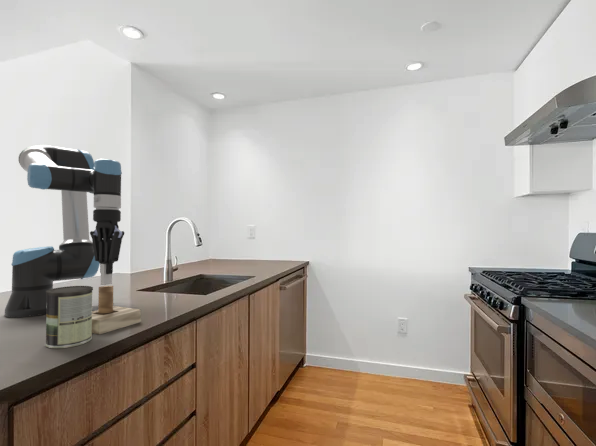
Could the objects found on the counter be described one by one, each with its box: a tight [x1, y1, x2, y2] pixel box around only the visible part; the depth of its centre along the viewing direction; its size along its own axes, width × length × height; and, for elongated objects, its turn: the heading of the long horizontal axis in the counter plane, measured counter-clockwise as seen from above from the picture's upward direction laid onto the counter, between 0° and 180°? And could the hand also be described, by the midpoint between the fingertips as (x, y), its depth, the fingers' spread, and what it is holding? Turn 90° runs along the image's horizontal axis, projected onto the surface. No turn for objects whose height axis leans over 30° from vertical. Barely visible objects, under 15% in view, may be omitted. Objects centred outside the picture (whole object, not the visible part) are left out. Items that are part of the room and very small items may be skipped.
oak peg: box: [97, 285, 114, 315], centre depth 104 cm, size 4×4×12 cm
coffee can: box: [45, 285, 94, 350], centre depth 89 cm, size 10×10×14 cm
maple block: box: [92, 305, 142, 335], centre depth 103 cm, size 12×14×4 cm
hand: (106, 284), depth 104 cm, fingers closed
